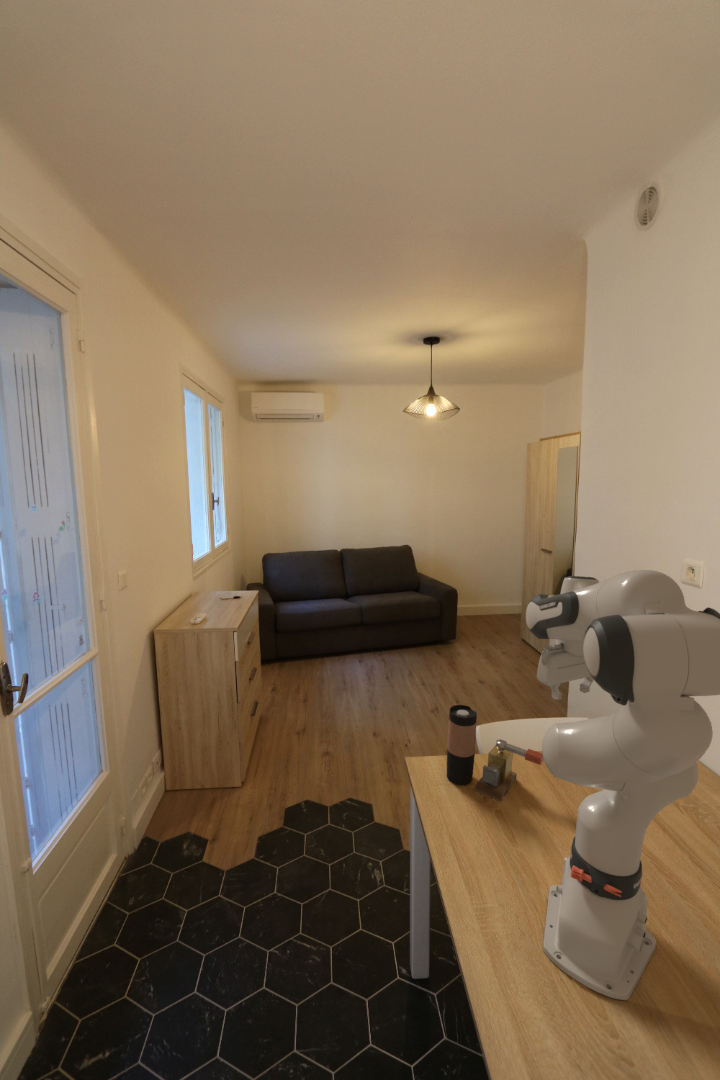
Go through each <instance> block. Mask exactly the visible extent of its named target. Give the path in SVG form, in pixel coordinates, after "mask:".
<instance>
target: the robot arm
mask: <svg viewBox="0 0 720 1080" xmlns="http://www.w3.org/2000/svg"><path fill="white" fill-rule="evenodd" d="M685 601H686V600H685V596H684V593H683V591H682V588H681V587H680V585H679V584H678V583H677V582H676V580H674V579H673V578H672V577H670V576H669V575H668V574H666V573H663V572H660V571H657V570H653V569H636V570H630V571H625V572H622V573H619V574H616V575H614V576H612V577H610V578H607V579H605V580H603V581H599V580H598V579H597V578H596V577H591V576H580V575H579V576H578V575H569V576H566V577H564V579H563V581H562V585H561V588H560V593H559V594H555V595H551V594H544V593H538V594H537V595H535V596H534V597H532V598H531V599H530V600H529V601H528V604H527V606H526V609H525V610H526V611H525V621H526V626H527V629H528V631H529V632H530V633H531V634H532V635H533V636H535V638H537V639H538V640H555V644H553V645H552V644H551V645H547V646H546V647H545V648H544V650H543V651H541V655H540V657H539V661H538V666H537V670H536V679H537V680H538V681H539V682H540V683H542V684H543V685H545V686H549V688H550V690H551V698H552V699H554V700H555V701H557V700H562V696H563V692H562V691H560V690H559V688H560V686H561V684H563V683H568V682H572V681H577V680H582V679H583V681H582V682H581V683H580V684H579V691H580V692H581V693H583V694H587V693H590V690H591V686H592V684H593V682H595V683H596V684H597V685H598V686H599V688H601V689H602V690H603V691H605V692H606V693H608V694H609V695H610V697H611V698H612V700H613V701H614V702H615V703H616V704H619V705H621V706H620V707H618V709H616V711H614V712H613V713H611V714H607V715H602V716H596V717H593V718H589V719H584V720H578V721H573V722H571V721H570V722H559V723H553V724H552V725H550V726H549V728H548V729H547V730H546V731H545V733H544V735H543V738H542V742H541V753H542V754H543V761H544V763H545V766H546V767H547V769H548V771H549V772H550V773H551V775H552V776H554V778H557V779H560V780H563V781H566V782H568V783H571V784H574V785H577V786H580V787H586V788H592V789H598V790H599V789H601V790H599V791H597V792H595V793H591V794H589V795H587V796H586V797H585V798H584V799H583V800H581V803H580V804H579V806H578V808H577V813H576V814H577V817H576V826H575V827H576V828H575V836H574V837H572V844H571V846H570V852H569V853H570V855H569V856H567V857H565V858H563V866H562V867H563V868H562V880H561V885H560V884H553V885H551V886H550V887H549V890H548V896H547V897H548V899H547V908H546V913H545V914H546V915H545V924H544V932H543V942H542V949H543V952H544V953H545V955H546V956H547V957H548V959H550V960H551V962H552V963H553V964H555V966H557V967H558V968H559V969H560V970H562V971H563V972H564V973H565V974H566V975H568V976H569V977H571V978H572V979H574V980H575V981H577V982H579V983H580V984H581V985H584V986H585V987H587V988H589V989H591V990H593V991H595V992H596V993H599V994H601V995H603V996H605V997H609V998H611V999H615V1000H619V1001H621V1000H622V1001H627V1000H629V999H630V997H631V995H632V994H633V993H634V990H635V989H636V987H637V985H638V983H639V981H640V979H641V977H642V975H643V973H644V971H645V970H646V967H647V965H648V963H649V962H650V960H651V958H652V957H653V954H654V952H655V950H656V949H657V940H656V937H655V936H654V935H653V933H651V931H650V930H649V929H648V928H647V921H648V906H649V897H648V896H647V894H646V893H645V891H644V890H643V888H642V886H641V884H642V878H643V863H642V860H641V857H642V851H643V846H644V840H645V836H646V833H647V829H648V827H649V825H650V824H651V822H652V821H653V820H654V819H655V817H656V816H657V815H658V814H659V813H660V812H661V811H662V810H663V809H664V808H666V807H667V806H669V805H670V804H672V803H674V802H676V801H677V800H680V799H683V798H686V797H689V795H691V794H692V792H693V791H694V790H695V788H696V786H697V784H698V781H699V766H698V763H697V762H698V761H699V760H700V759H701V758H702V757H703V756H704V755H705V753H707V751H708V750H709V748H710V746H711V744H712V740H713V733H714V732H713V726H712V725H713V724H712V721H711V720H710V716H709V715H708V714H707V712H706V711H705V709H704V708H703V707H702V705H701V704H700V703H698V702H697V700H695V697H709V696H710V697H711V696H719V695H720V612H719V611H717V610H716V609H714V608H711V607H708V606H707V607H706V608H704V610H693V609H691V608H689V607H688V606H687V605H686V602H685Z"/></svg>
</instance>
